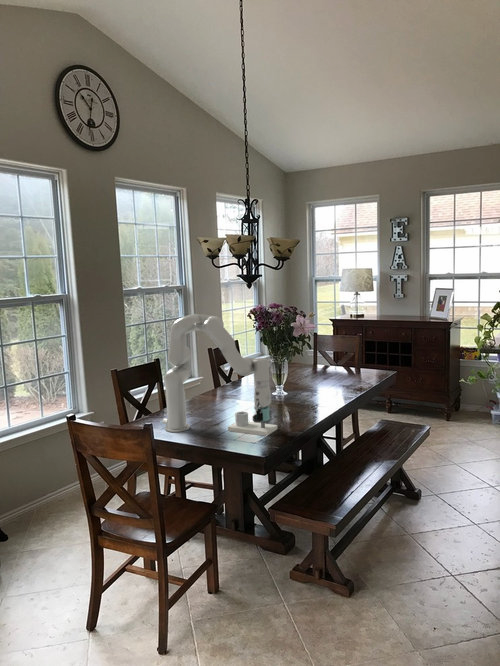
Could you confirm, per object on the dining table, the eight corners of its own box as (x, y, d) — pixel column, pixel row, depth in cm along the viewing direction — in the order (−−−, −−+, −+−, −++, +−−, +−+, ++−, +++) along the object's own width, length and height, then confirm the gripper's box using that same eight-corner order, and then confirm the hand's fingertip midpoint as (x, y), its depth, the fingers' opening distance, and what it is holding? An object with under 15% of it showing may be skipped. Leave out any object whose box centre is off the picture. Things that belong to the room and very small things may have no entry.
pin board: (227, 430, 274) (227, 417, 273) (239, 424, 284) (238, 411, 283) (266, 436, 263) (266, 422, 262) (277, 429, 274) (276, 415, 273)
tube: (256, 403, 309) (250, 415, 285) (265, 400, 309) (260, 412, 284) (260, 412, 310) (254, 425, 285) (268, 409, 309) (263, 421, 284)
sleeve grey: (233, 425, 275) (233, 414, 274) (239, 422, 280) (239, 411, 279) (244, 427, 272) (243, 415, 271) (250, 423, 277) (249, 412, 277)
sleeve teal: (255, 420, 269) (254, 408, 268) (260, 417, 274) (260, 405, 273) (265, 421, 266) (265, 409, 265) (271, 418, 271) (270, 406, 270)
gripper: (260, 387, 258) (261, 424, 261) (276, 380, 273) (277, 415, 276) (246, 386, 262) (248, 422, 264) (262, 379, 277) (264, 413, 279)
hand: (263, 418), depth 270 cm, fingers closed on sleeve teal, 6 cm apart
